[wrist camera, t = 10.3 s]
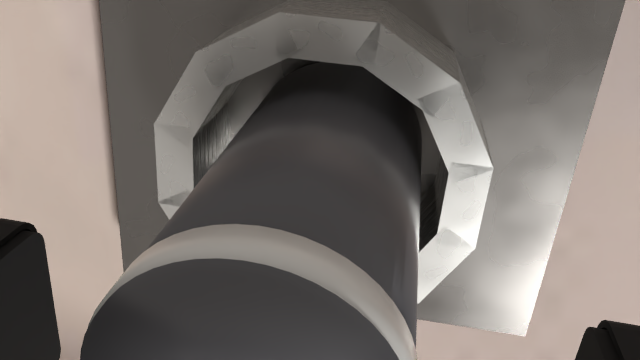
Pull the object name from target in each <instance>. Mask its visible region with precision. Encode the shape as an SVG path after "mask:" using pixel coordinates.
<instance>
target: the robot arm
mask: <svg viewBox="0 0 640 360" xmlns="http://www.w3.org/2000/svg"><path fill="white" fill-rule="evenodd" d="M60 353H61V347H60V340H59V334H58V327H57V321H56V314H55V308H54V301H53V295H52V288H51V282H50V275H49V269H48V262H47V256H46V249H45V243H44V239H43V236H42V235H41V234H40V233H37V230H36V228H35V227H34V225H32V224H30V223H26V222H20V221H14V220H8V219H2V218H1V219H0V360H59V358H60ZM575 360H640V326H637V325H631V324H626V323H620V322H614V321H608V320H603V321H601V322H600V324H599V325H598V327H597V328H594V327H588V328H587V329H586V331H585V333H584V335H583V338H582V341H581V344H580V347H579V350H578V353H577V355H576V358H575Z"/></svg>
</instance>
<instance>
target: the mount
mask: <svg viewBox="0 0 640 360" xmlns="http://www.w3.org/2000/svg"><path fill="white" fill-rule="evenodd" d="M624 3H625V0H99V6H100V17H101V28H102V39H103V50H104V61H105V72H106V83H107V94H108V105H109V116H110V127H111V138H112V149H113V160H114V171H115V182H116V193H117V204H118V215H119V226H120V237H121V248H122V259H123V269H124V272H125V271H126V269H127V268H128V267H129V266H130V264H131V263H132V262H133V261H134V260H135V259H137V258H138V257H139V256H140V255H141V254H142V253H143V252H144V251H146V249H147V248H148V247H149V245H150V244H151V243H152V242H153V240H154V239H155V238H156V236H157V235H158V234H159V233H160V231H161V230H162V229H163V228H164V226H165V225H166V224H167V222H168V221H169V220H170V219H171V217H172V216H173V215H174V213H175V212H176V211H177V210H178V208H179V207H180V206H181V205H182V203H183V202H184V201H185V199H186V198H187V197H188V196H189V194H190V193H191V192H192V190H193V189H194V188H195V187H196V185H197V184H198V183H199V182H200V180H201V179H202V178H203V176H204V175H205V174H206V173H207V171H208V170H209V169H210V167H211V166H212V165H213V164H214V162H215V161H216V160H217V158H218V157H219V156H220V155H221V153H222V152H223V151H224V150H225V148H226V147H227V146H228V144H229V143H230V142H231V141H232V139H233V138H234V137H235V135H236V134H237V133H238V132H239V130H240V129H241V128H242V127H243V125H244V124H245V123H246V121H247V120H248V119H249V118H250V116H251V115H252V114H253V112H254V111H255V110H256V109H257V107H258V106H259V105H260V103H261V102H262V101H263V100H264V98H265V97H266V96H267V95H268V93H269V92H270V91H271V89H272V88H273V87H274V86H275V85H276V84H277V83H278V82H279V81H280V80H282V79H283V78H284V77H286V76H287V75H288V74H290V73H292V72H294V71H295V70H297V69H299V68H302V67H305V66H307V65H311V64H315V63H319V62H329V63H338V64H346V65H355V66H363V67H364V68H365V69H367V70H368V71H369V72H371V73H372V74H374V75H375V76H376V77H378V78H379V79H380V80H382V81H383V82H384V83H386V84H387V85H389V86H390V87H391V88H393V89H394V90H395V91H397V92H398V93H400V94H401V95H402V96H404V97H405V98H406V99H408V100H409V102H410V104H411V105H412V107H413V109H414V111H415V113H416V116H417V118H418V121H419V125H420V129H421V135H422V163H421V195H420V227H419V259H418V291H417V319H419V320H426V321H432V322H438V323H444V324H451V325H457V326H463V327H469V328H476V329H482V330H488V331H494V332H501V333H507V334H513V335H519V336H526V332H527V329H528V326H529V322H530V319H531V316H532V312H533V309H534V305H535V302H536V299H537V295H538V292H539V289H540V285H541V282H542V279H543V275H544V272H545V269H546V265H547V262H548V258H549V255H550V252H551V248H552V245H553V242H554V238H555V235H556V232H557V228H558V225H559V222H560V218H561V215H562V211H563V208H564V205H565V201H566V198H567V195H568V191H569V188H570V185H571V181H572V178H573V175H574V171H575V168H576V164H577V161H578V158H579V154H580V151H581V148H582V144H583V141H584V138H585V134H586V131H587V128H588V124H589V121H590V118H591V114H592V111H593V107H594V104H595V101H596V97H597V94H598V91H599V87H600V84H601V81H602V77H603V74H604V71H605V67H606V64H607V60H608V57H609V54H610V50H611V47H612V44H613V40H614V37H615V34H616V30H617V27H618V24H619V20H620V17H621V13H622V10H623V7H624Z"/></svg>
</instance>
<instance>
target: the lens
mask: <svg viewBox="0 0 640 360" xmlns="http://www.w3.org/2000/svg"><path fill="white" fill-rule="evenodd" d="M421 163H422V135H421V129H420V125H419V121H418V118H417V116H416V113H415V111H414V109H413V107H412V105H411V104H410V102H409V100H408V99H406V98H405V97H404V96H402V95H401V94H400V93H398V92H397V91H395V90H394V89H393V88H391V87H390V86H389V85H387V84H386V83H384V82H383V81H382V80H380V79H379V78H378V77H376V76H375V75H374V74H372V73H371V72H369V71H368V70H367V69H365V68H364V67H363V66H355V65H346V64H338V63H329V62H319V63H315V64H311V65H307V66H305V67H302V68H299V69H297V70H295V71H294V72H292V73H290V74H288V75H287V76H286V77H284V78H283V79H282V80H280V81H279V82H278V83H277V84H276V85H275V86H274V87H273V88H272V89H271V91H270V92H269V93H268V95H267V96H266V97H265V98H264V100H263V101H262V102H261V103H260V105H259V106H258V107H257V109H256V110H255V111H254V112H253V114H252V115H251V116H250V118H249V119H248V120H247V121H246V123H245V124H244V125H243V127H242V128H241V129H240V130H239V132H238V133H237V134H236V135H235V137H234V138H233V139H232V141H231V142H230V143H229V144H228V146H227V147H226V148H225V150H224V151H223V152H222V153H221V155H220V156H219V157H218V158H217V160H216V161H215V162H214V164H213V165H212V166H211V167H210V169H209V170H208V171H207V173H206V174H205V175H204V176H203V178H202V179H201V180H200V182H199V183H198V184H197V185H196V187H195V188H194V189H193V190H192V192H191V193H190V194H189V196H188V197H187V198H186V199H185V201H184V202H183V203H182V205H181V206H180V207H179V208H178V210H177V211H176V212H175V213H174V215H173V216H172V217H171V219H170V220H169V221H168V222H167V224H166V225H165V226H164V228H163V229H162V230H161V231H160V233H159V234H158V235H157V236H156V238H155V239H154V240H153V242H152V243H151V244H150V245H149V247H148V248H147V249H146V251H144V252H143V253H142V254H141V255H140V256H139V257H138V258H137V259H135V260H134V261H133V262H132V263H131V264H130V266H129V267H128V268H127V269H126V271H125V272H124V273H123V274H122V276H121V277H120V278H119V280H118V281H117V282H116V283H115V285H114V286H113V287H112V288H111V290H110V291H109V292H108V293H107V295H106V296H105V297H104V299H103V300H102V301H101V303H100V304H99V306H98V307H97V308H96V310H95V312H94V314H93V316H92V318H91V320H90V323H89V325H88V329H87V331H86V333H85V336H84V340H83V344H82V348H81V356H80V360H417V352H416V323H417V291H418V259H419V227H420V195H421Z"/></svg>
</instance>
